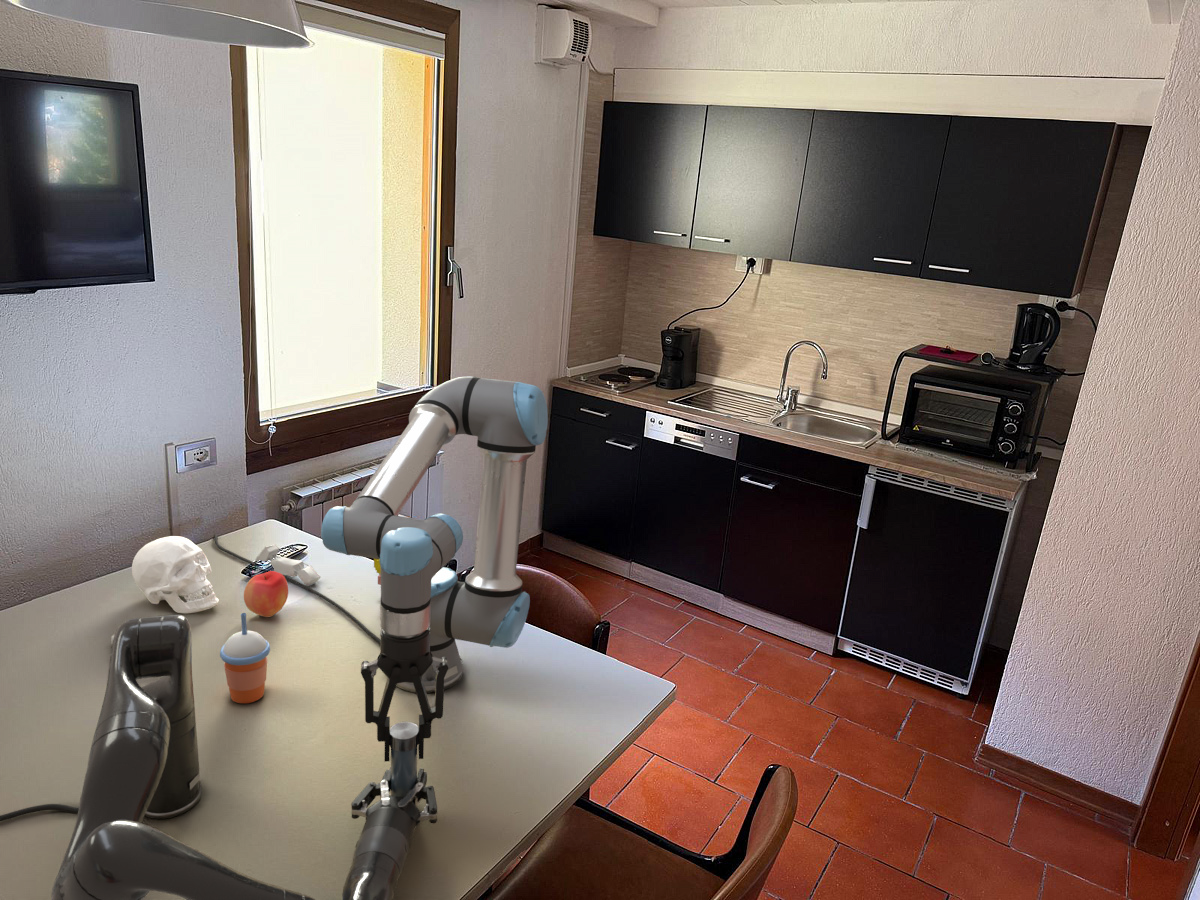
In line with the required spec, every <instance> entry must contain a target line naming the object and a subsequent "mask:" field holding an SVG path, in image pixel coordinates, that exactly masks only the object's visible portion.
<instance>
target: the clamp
mask: <svg viewBox="0 0 1200 900" xmlns="http://www.w3.org/2000/svg"><path fill="white" fill-rule="evenodd" d="M280 549H281V547H279V546H278V545H277V544H272V545H266V546H264V547H263V549H262V550H261V551H260V552H259V554H258V555H257V556H256V557H255V559H254V563H256V561H259V560H262V561H268V560H271V562H270V563H269V564H271V565H272V566H273V568H274V571H275V572H278V573H281V574H282V575H284V576H286V577H292V578H296V577H298V578H299V579H300V580H301V582H303V584H304V585H306V586H308V587H309V586H312V585H314V584H316V583H318V582H319V580H320V579H321V578H322V577H321V575H320V574H319V573H318V572H317V570H315V569H314V568H313V566H312V565H310V564H309V565H308V564H307V563H305V562H304V561H303V560H301V559H300V560H299V559H292V558H289V557H285V556H278V553H279V551H280ZM273 558H274V559H273ZM272 559H273V560H272ZM305 566H306V567H305Z"/></svg>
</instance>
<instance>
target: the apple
mask: <svg viewBox="0 0 1200 900" xmlns="http://www.w3.org/2000/svg"><path fill="white" fill-rule="evenodd" d="M284 576H285V575H284ZM284 576H283V575H282V574H281V573H278V572H275V571H268V572H267V571H265V572H264V573H259V574H255V575H254V576H253V577H251V578H250V579H249V580H248V582H247V583H246V585H245V587H244V590H243V601H244V604H245V607H247V609H248V610H249V611H250V612H252V613H253V614H255V615H257V616H261V617H265V618H269V617H273V616H275V615H276V614H278V613H279V612H280V611H281V610H282V609H283V607H284V606H285V605H286V603H287V600H288V597H289V584H288V580H286V579H285V577H284Z"/></svg>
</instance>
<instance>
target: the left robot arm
mask: <svg viewBox="0 0 1200 900" xmlns="http://www.w3.org/2000/svg"><path fill="white" fill-rule="evenodd" d="M113 635H114V639H113V643H111V650H110V657H109V665H108V673H107V680H106V687H105V693H104V697H103V701H102V705H101V709H100V713H99V717H98V720H97V724H96V727H95V730H94V733H93V738H92V741H91V747H90V750H89V754H88V760H87V766H86V770H85V776H84V781H83V785H82V788H81V795H80V800H79V803H78V804H79V805H78V807H76V806H71V805H66V804H61V803H46V804H40V805H35V806H34V805H33V806H30V807H25V808H22V809H18V810H14V811H11V812H8V813H3V814H0V822H3V821H7V820H11V819H13V818H17V817H21V816H25V815H28V814H32V813H37V812H43V811H44V812H45V811H60V812H64V813H70V814H77V816H76V820H75V825H74V828H73V832H72V835H71V838H70V841H69V843H68V846H67V849H66V851H65V853H64V856H63V859H62V862H61V864H60V867H59V870H58V871H57V872H58V873H57V875H56V877H55V880H54V882H53V886H52V889H51V895H50V896H51V899H50V900H144V899H145V897H146V896H147V895H148V893H149V892H158V893H164V894H170V895H174V896H178V897H181V898H183V899H184V900H316V898H314V897H313V896H310V895H308V894H304V893H300V892H299V891H294V890H292V889H288V888H284V887H281V886H279V885H275V884H271V883H268V882H265V881H263V880H260V879H256V878H255V877H251V876H249V875H247V874H244V873H242V872H240V871H238V870H236V869H234V868H232V867H230V866H228V865H226V864H224V863H222V862H221V861H219V860H217V859H215V858H213V857H211V856H210V855H208V854H206V853H204V852H202V851H200V850H199V849H196V848H194V847H193V846H190V845H188V844H187V843H185V842H183V841H181V840H179V839H177V838H175V837H173V836H171V835H170V834H168V833H166V832H164V831H162V830H160V829H158V828H155V827H153V826H151V825H148V824H146V823H143V820H144V818H145V817H147V818H149V819H155V820H163V819H170V818H173V817H176V816H180V815H182V814H184V813H186V812H188V811H189V810H191V809H192V808H194V806H196V805H197V804H198V802H199V801H200V800H201V797H202V792H203V791H202V783H201V773H200V761H199V746H198V733H197V720H196V709H195V708H196V707H195V696H194V682H193V642H192V641H193V640H192V639H193V638H192V637H193V636H192V628H191V624H190V622H189V620H188V618H187V617H186V615H184V614H183V615H182V614H171V615H161V616H160V615H159V616H158V615H157V616H149V617H139V618H137V617H136V618H132V619H128V620H125V621H123V622H121V623H120V624H119V626H117V628H116V630H115V633H114V634H113ZM151 678H158V679H155V680H154V681H151V682H149V683H147V684H145V685H143V686H142V687H141V685H140V684H139V683H138V680H142V679H151ZM427 783H428V773H427V771H425V768H419V769H418V771H417V779H416V782H415V786H414V788H413V789H412V790H411V789H410V790H409V792H408V793H407V794H406V795H405V796H400V797H397V796H393V795H391V794H390V793H391V766H390V767H389V769H386V770H385V771H384V774H383V775H382V779H381V781H380V782H379V783H376V782H374V781H370V782H368V784H367V785H366V786H365V787H364V788H363V789H362V791H360V792H359V794H358V795H357V796H356V797H355V799H353V800H352V802H351V803H350V804H351V818H352V819H354V820H356V819H359V818H360V817H363V818H364V819H365V821H364V824H363V827H362V830H361V832H360V835H359V837H358V840H357V841H356V844H355V847H354V852H353V855H352V861H351V865H350V867H349V871H348V873H347V875H346V879H345V881H344V884H343V887H342V894H341V897H342V900H394V895H395V892H396V888H397V886H398V882H399V878H400V876H401V873H402V871H403V869H404V867H405V864H406V860H407V857H408V854H409V850H410V847H411V843H412V840H413V837H414V833H415V829H416V827H417V826H419V825H420V823H421V822H424V821H428V822H429V823H430V824H432V825H433V824H436V823H437V822H438V803H437V798H436V792H435V787H434V786H433V785H427ZM426 785H427V786H426ZM377 797H380V798H379V800H378V801H376V802H375V803H374V804H372V803H373V802H374V800H375V799H376V798H377ZM422 800H425V806H424V807H423V810H421V811H420V809H419V808H418V806H419V804H420V803H421V801H422ZM371 804H372V805H371Z"/></svg>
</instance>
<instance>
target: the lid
mask: <svg viewBox="0 0 1200 900" xmlns="http://www.w3.org/2000/svg"><path fill="white" fill-rule="evenodd" d="M418 744H419V725H418V724H416V723H415V722H411V721H400V722H397V723H395V724H393V725H392V726H390V749H391V748H392V749H394V750H396V751H401V752H404V751H410V750H412V749H414V748H415V747H417V748H418Z"/></svg>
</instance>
